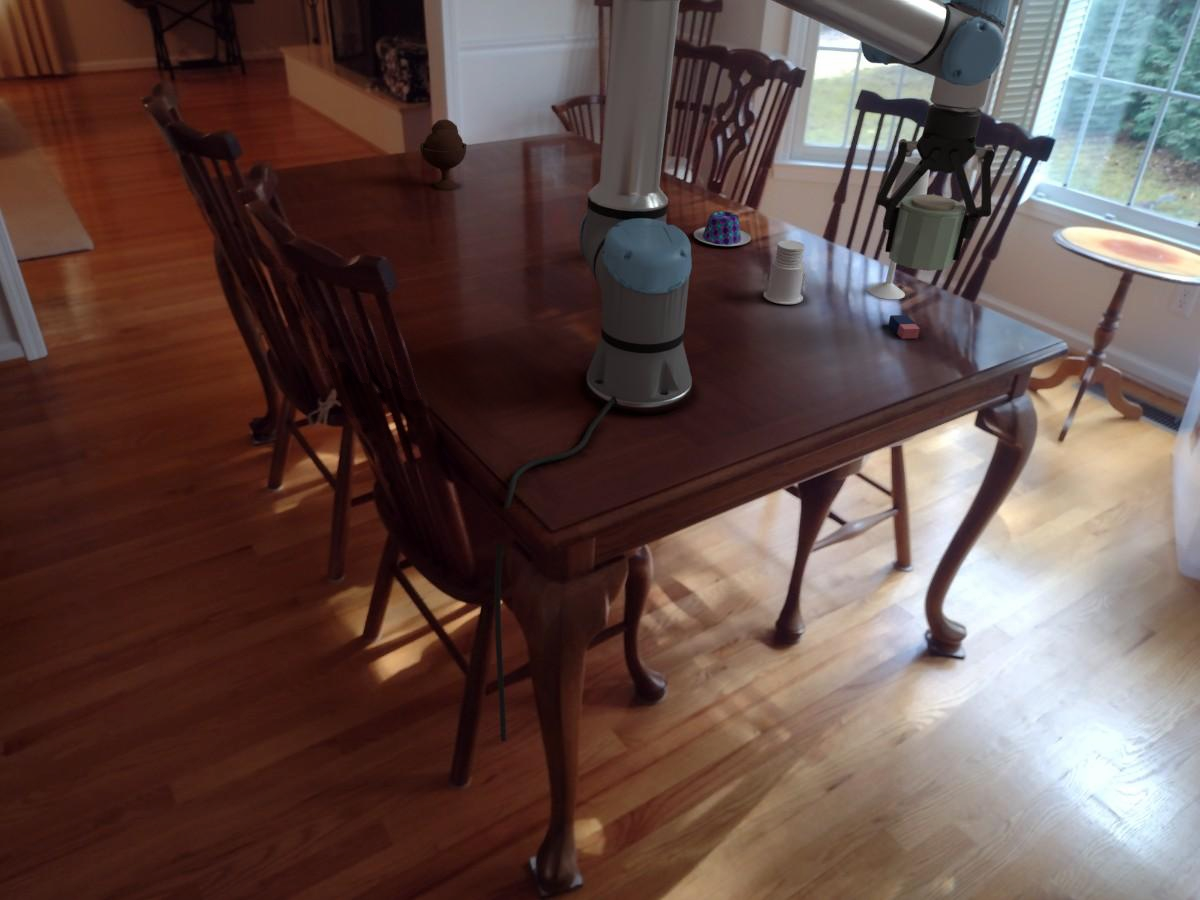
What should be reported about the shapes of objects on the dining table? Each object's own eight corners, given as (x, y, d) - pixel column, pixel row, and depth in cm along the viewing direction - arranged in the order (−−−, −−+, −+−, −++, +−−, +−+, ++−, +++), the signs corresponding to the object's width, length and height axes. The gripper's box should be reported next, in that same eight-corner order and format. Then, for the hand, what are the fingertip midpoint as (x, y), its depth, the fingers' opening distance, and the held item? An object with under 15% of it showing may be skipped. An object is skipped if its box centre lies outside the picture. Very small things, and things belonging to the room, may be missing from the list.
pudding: (723, 226, 190) (725, 202, 187) (762, 242, 182) (765, 218, 179) (681, 236, 183) (683, 211, 181) (720, 253, 175) (723, 228, 173)
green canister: (952, 273, 135) (967, 213, 129) (888, 265, 137) (901, 206, 132) (950, 253, 142) (964, 195, 137) (889, 245, 145) (901, 188, 139)
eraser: (917, 338, 145) (920, 327, 144) (901, 338, 144) (904, 328, 143) (903, 324, 149) (906, 314, 148) (887, 324, 149) (890, 314, 148)
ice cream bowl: (417, 182, 210) (412, 117, 202) (461, 178, 214) (458, 114, 206) (429, 194, 202) (424, 127, 194) (475, 190, 206) (472, 124, 198)
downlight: (770, 307, 153) (779, 253, 148) (754, 292, 159) (761, 239, 154) (811, 304, 155) (821, 250, 150) (794, 289, 161) (802, 236, 155)
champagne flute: (860, 287, 163) (888, 156, 150) (890, 283, 165) (920, 154, 152) (882, 301, 157) (913, 166, 144) (912, 297, 160) (945, 164, 146)
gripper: (1034, 107, 127) (993, 254, 139) (878, 95, 132) (851, 237, 145) (1040, 118, 121) (996, 270, 133) (876, 104, 126) (848, 252, 139)
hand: (921, 253), depth 139 cm, fingers closed on green canister, 10 cm apart
